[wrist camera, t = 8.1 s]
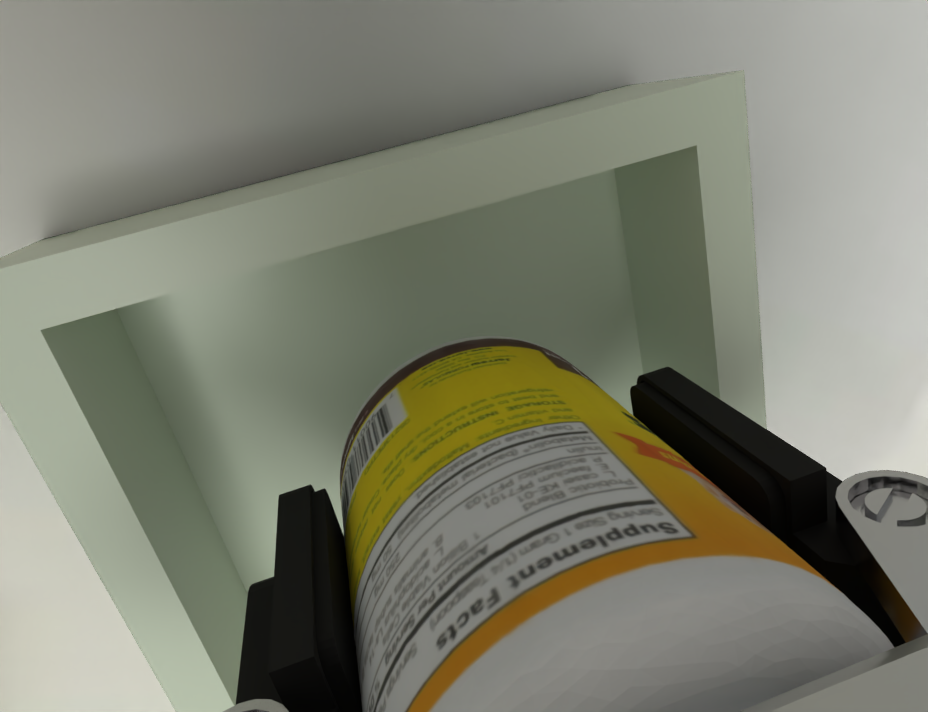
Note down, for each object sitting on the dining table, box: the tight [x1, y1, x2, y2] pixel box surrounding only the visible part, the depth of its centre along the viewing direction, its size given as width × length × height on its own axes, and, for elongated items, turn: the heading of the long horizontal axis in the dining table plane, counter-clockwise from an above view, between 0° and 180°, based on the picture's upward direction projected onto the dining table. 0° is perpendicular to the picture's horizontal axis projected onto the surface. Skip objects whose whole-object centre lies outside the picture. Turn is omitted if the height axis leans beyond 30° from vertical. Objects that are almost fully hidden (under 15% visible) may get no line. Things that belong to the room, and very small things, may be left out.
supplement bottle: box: [340, 336, 895, 712], centre depth 9 cm, size 6×6×10 cm
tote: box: [0, 70, 767, 712], centre depth 16 cm, size 20×13×4 cm, turn 13°
